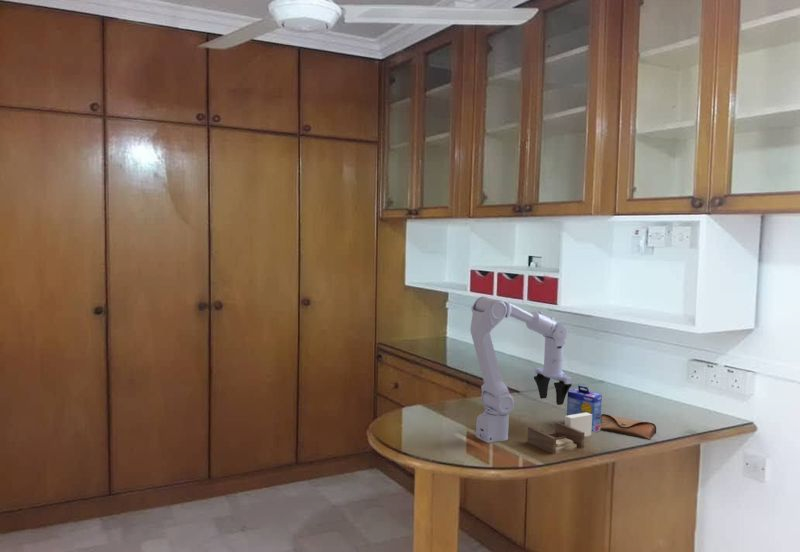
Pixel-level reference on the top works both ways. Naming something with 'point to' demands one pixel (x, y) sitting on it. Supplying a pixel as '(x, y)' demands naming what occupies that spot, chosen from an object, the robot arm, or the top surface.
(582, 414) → the board
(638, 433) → the sunglasses case
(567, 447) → the offcut lower
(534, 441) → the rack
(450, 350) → the top surface
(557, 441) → the offcut upper
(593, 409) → the ink cartridge box
